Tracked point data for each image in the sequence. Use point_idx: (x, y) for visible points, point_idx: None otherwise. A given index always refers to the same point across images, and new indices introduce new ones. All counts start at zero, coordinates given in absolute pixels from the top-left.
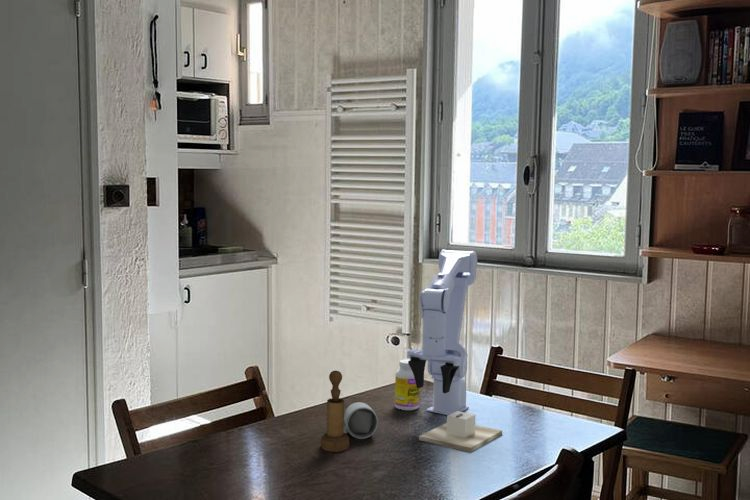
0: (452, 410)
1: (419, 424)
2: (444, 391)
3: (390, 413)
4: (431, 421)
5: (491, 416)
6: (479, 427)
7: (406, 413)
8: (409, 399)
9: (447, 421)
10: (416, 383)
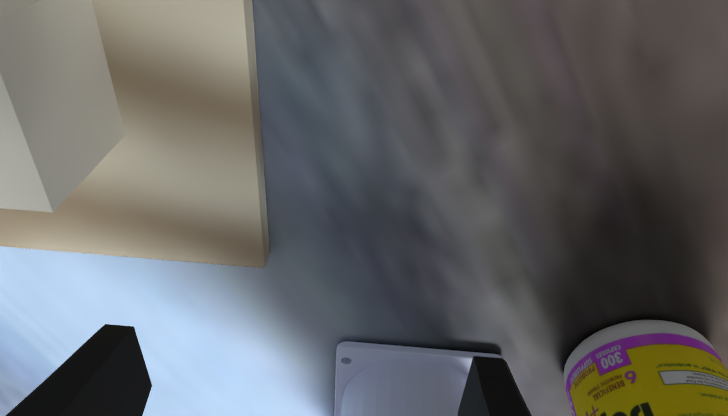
0: (355, 382)
1: (440, 148)
2: (94, 338)
3: (712, 245)
4: (398, 233)
5: (191, 403)
6: (49, 224)
7: (604, 285)
8: (625, 383)
9: (14, 7)
10: (515, 402)
